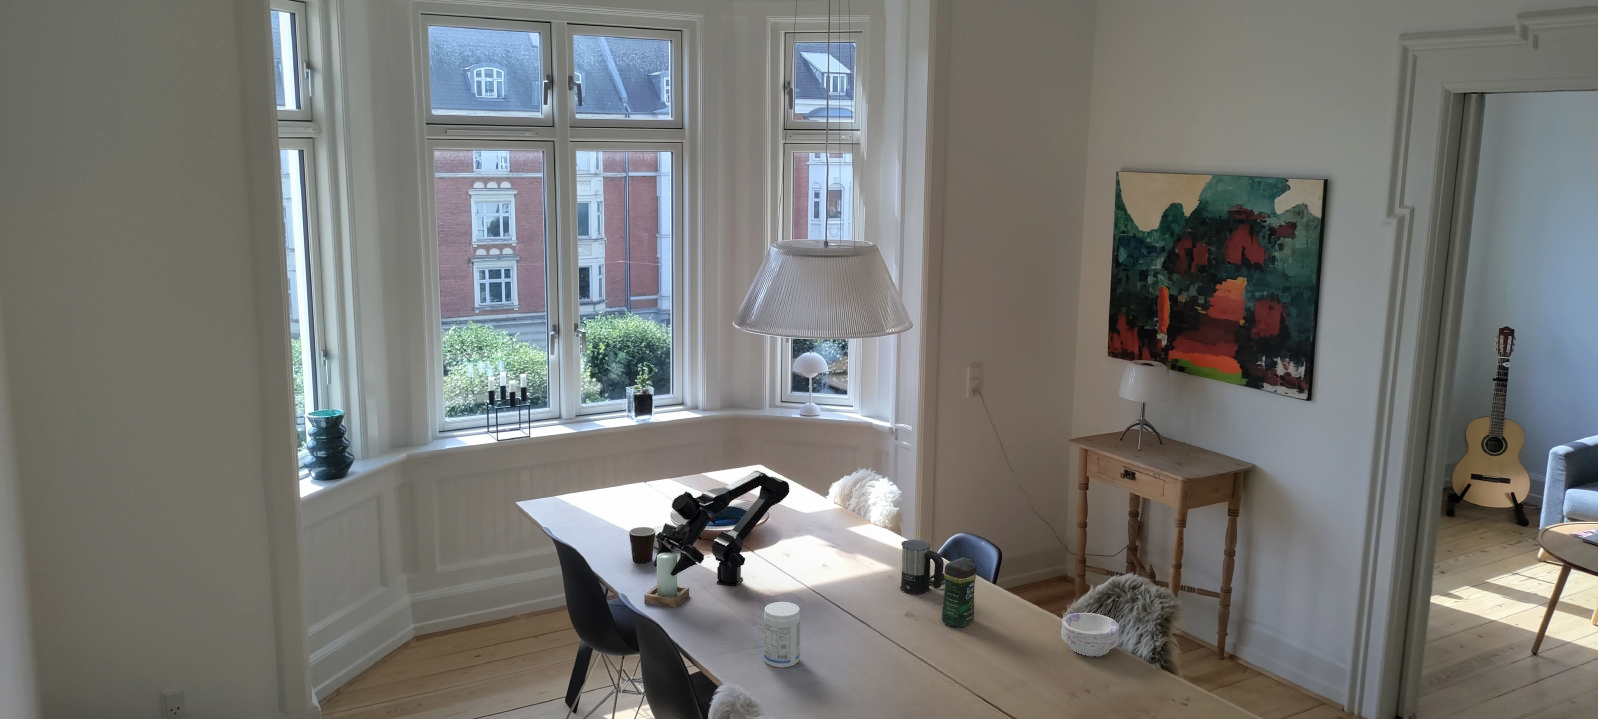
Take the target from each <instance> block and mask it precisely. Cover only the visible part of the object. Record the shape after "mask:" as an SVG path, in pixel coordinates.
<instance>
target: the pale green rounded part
mask: <svg viewBox="0 0 1598 719" xmlns="http://www.w3.org/2000/svg"><path fill="white" fill-rule="evenodd" d="M656 556H657V567H656V585H657V595H658V596H664V597H671V598H672V597H675V596H676V595H677V586H678V574H676V575H674V576H672V575H671V572H672V570H673V568H674V567H675V565H676V564H677V562H678V555H677V554H676V553H674V552H673V553H661V554H658V555H657V554H656Z"/></svg>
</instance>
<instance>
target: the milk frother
mask: <svg viewBox="0 0 1598 719" xmlns="http://www.w3.org/2000/svg"><path fill="white" fill-rule="evenodd" d="M900 544H901V547H902V548H901V581H900V586H899V587H900V588H899V589H900V590H901V592H903V591H904V592H903V593H905V592H906V593H905V594H908V593H910V594H909V595H924V593H925V594H927V593H929V592H930V591H929V590H931V589H930V588H931V586H932V587H933V589H939V588H940V587H941V586H942V584H943V582H945V576H944V568H945V566H944V563H945V561H944V559H943V557H942V556H941V554H940V553H938V552H937V551H935V550H931V547H932V544H931V543H930V542H929V541H928V540H927V541H926V540H924V539H907V540H904V541H902V542H901V543H900ZM931 560H932V562H933V563H934V573H933V574H932V575H931ZM932 579H933V580H932Z"/></svg>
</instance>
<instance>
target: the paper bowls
mask: <svg viewBox="0 0 1598 719" xmlns="http://www.w3.org/2000/svg"><path fill="white" fill-rule="evenodd" d="M1120 630H1121V629H1120V625H1119V623H1118V622H1117V620H1115V619H1113V618H1111V617H1108V616H1106V615H1102V614H1098V613H1093V612H1075V613H1074V612H1073V613H1070V614H1067V615H1066V616H1064V617H1063V618H1062V619H1061V633H1060V634H1061V639H1062V641H1063V642H1065V643H1066V644H1068V646H1069V648H1070V649H1071V650H1072V651H1073V652H1075V653H1076V652H1077V653H1076V654H1078V653H1079V655H1081V654H1082V655H1081V656H1085V655H1086V657H1093V656H1096V657H1102V656H1104V655H1107V654H1108V653H1109V651H1110V650H1112V649H1113V648H1116V647H1117V646H1118V644H1119V638H1120Z"/></svg>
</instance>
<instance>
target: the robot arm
mask: <svg viewBox="0 0 1598 719" xmlns="http://www.w3.org/2000/svg"><path fill="white" fill-rule="evenodd" d="M759 487H760V490H759V495H758V498H756V500H755V501H754V502H753V504H752V505H751V506H750V507H749V509H747V511H746V512H745V513H744V514H743V516H742V517H741V518H740V519H739V520H738V522H737V523H736V524H735V525H734V526H733V528H732V529H731V530H730V531H728V532H726V531H721V532H719V534H718V536H717V537H716V538H715V539H713V544H712V545H711V551H712V555H713V557H715V561H717V562H718V566H717V567H716V568H717V570H716V571H717V578H716V579H717V580H716V584H719V585H725V586H731V587H732V586H733V587H736V586H738V585H739V583H741V582H742V580H744V578H743V577H742V566H744V565H745V562H746V557H745V556H743V554H741V552H742V549H743V544H744V541H745V539H746V538H747V536H749V534H750V533H751V532H752V531H753V530H754V528H755V527H756V526H757V524H758V523H759V522H760V521H761V520H762V518H764V516H765V515H766V514H767V512H768V511H769V510H770V509H771V507H774V506H776V505H777V504H779V503H781V502H782V501H783V500H784V499H785V498H786V497H787V496H788V495H789V493H790V484H789V482H788V481H786V480H783V479H781V478H779V477H775V476H770V475H768V474H766V473H765V472H762V471H760V470H754V471H752V472H751V473H749V474H747V475H746V476H744V477H741V478H740V479H738V480H736V481H734V482H731V483H730V484H728V485H726V486H724V487H718V488H712V489H708V490H705V491H704V492H702V493H701V495H698V496H695V497H694V496H693V494H691V492H689V491H684V493H683V494H679V495H678V496H677V497H674V499H673V500H672V502H671V508H672V510H673V511H674V512H676V513H677V514H678V515H679V516H680V517H681V518H682V519H683V520H686V521H685V524H684V523H681V524H678V525H677V527H676V525H672V524H669V523H664V527H663V530H662V532H659V533H658V534H657V536H656V538H657V539H658V540H657V542H658V546H659V548H657V553H656V556H655V558H654V561H653V566H654V567H655V568H657V555H658V554H661V553H674V551H673V550H675V549H676V550H678V551H680V552H679V559H677V564H676V565H675V567H674V568H673V570H672V572H671V575H672V576H674V575H676V574H677V575H678V574H680V573H682V572H683V571H685V570H687V569H689V568H691V567H692V566H697V565H699V564H700V565H701V564H702V563H703V562H704V560H705V554H704V553H703V552H701V551H700V550H699V549H698V548H697V547H696V546H694V545H695V543H696V542H697V540H698V541H701V539H702V537H701V535H702V534H703V532H704V530H705V529H706V528H707V526H708V524H712V525H716V516H715V515H716V514H720V513H721V512H723V511H724V510H725V509H727V508H728V507H729V505H730V504H731V503H732V501H734V500H737V499H738V498H739V497H741V496H744V495H745V494H746V495H747V493H749V492H752V491H753V490H755V489H757V488H759ZM709 512H711V513H709ZM712 513H713V514H712ZM714 514H715V515H714Z"/></svg>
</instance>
